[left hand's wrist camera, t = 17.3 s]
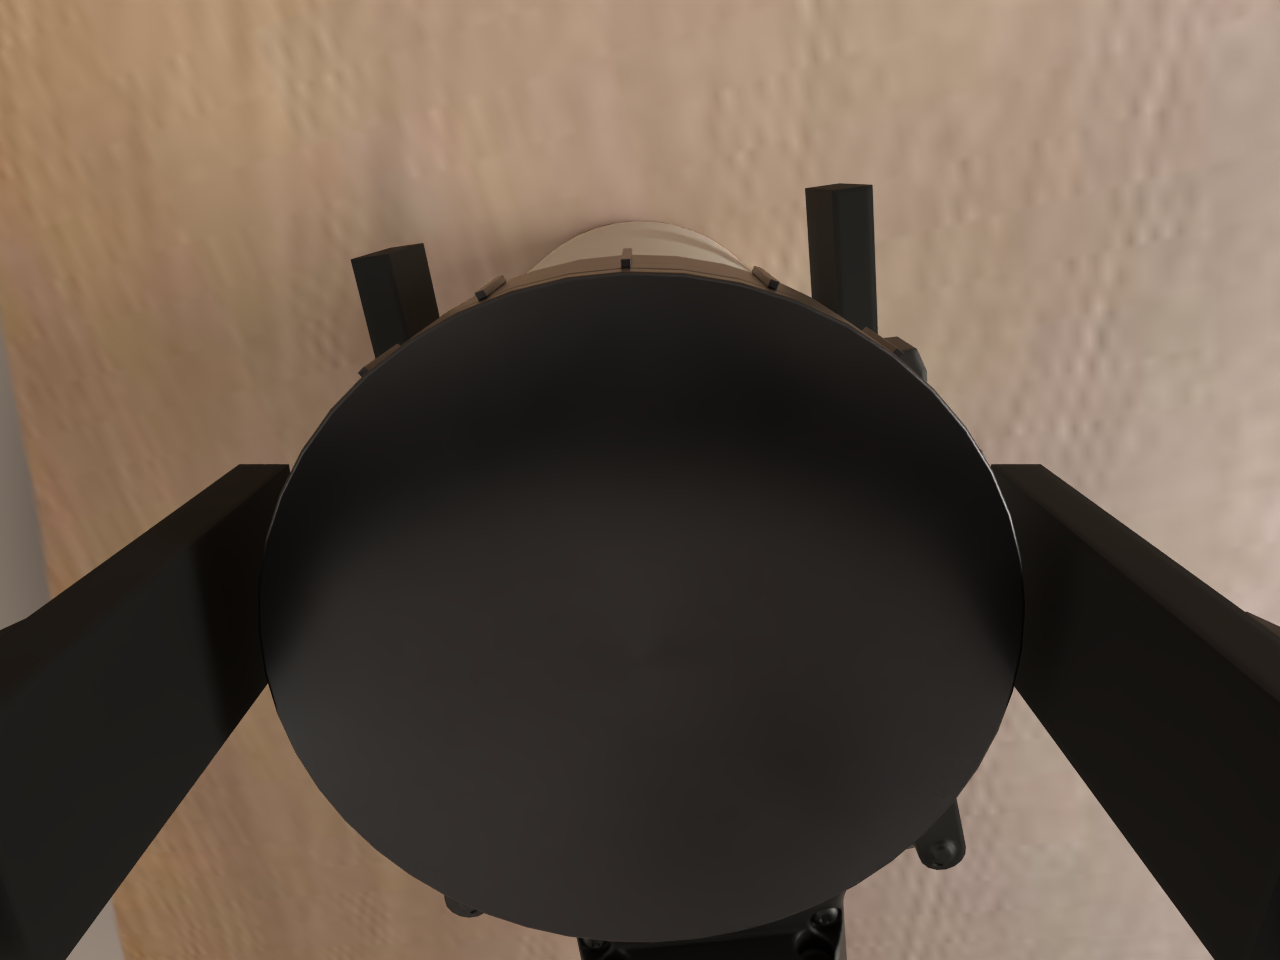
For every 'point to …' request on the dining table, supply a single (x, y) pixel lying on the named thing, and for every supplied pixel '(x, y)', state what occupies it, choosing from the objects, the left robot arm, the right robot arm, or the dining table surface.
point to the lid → (641, 601)
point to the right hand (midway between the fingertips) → (609, 219)
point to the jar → (640, 244)
